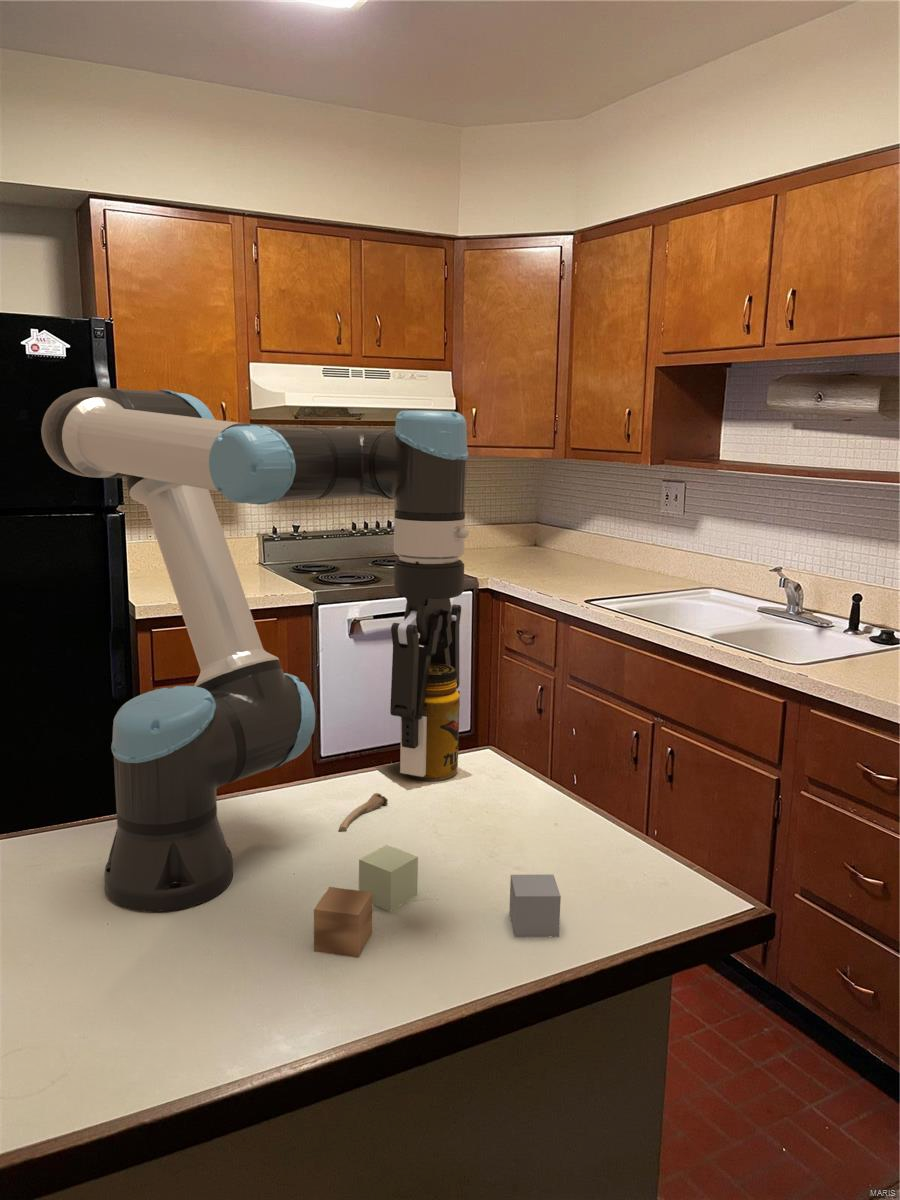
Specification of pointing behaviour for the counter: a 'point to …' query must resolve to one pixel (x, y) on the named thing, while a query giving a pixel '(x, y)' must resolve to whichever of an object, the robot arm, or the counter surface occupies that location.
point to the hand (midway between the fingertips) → (425, 763)
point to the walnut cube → (343, 922)
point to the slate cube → (534, 906)
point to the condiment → (436, 733)
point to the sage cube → (389, 876)
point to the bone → (364, 809)
